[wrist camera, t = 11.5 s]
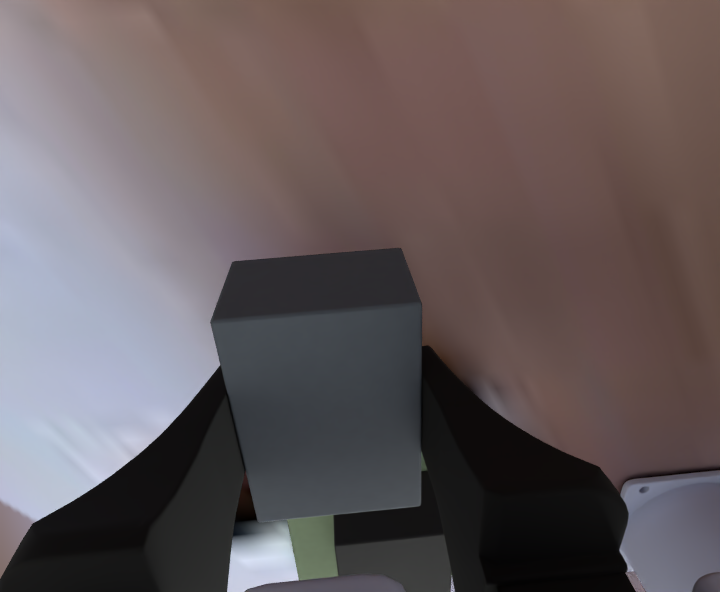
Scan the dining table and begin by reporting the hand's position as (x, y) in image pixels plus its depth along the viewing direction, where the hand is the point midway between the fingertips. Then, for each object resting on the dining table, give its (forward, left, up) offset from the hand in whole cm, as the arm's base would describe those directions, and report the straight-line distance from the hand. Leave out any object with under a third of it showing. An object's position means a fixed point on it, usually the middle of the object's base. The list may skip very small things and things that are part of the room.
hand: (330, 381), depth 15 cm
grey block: (0, 0, -1) cm, 1 cm away
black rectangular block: (-2, +13, -4) cm, 14 cm away
